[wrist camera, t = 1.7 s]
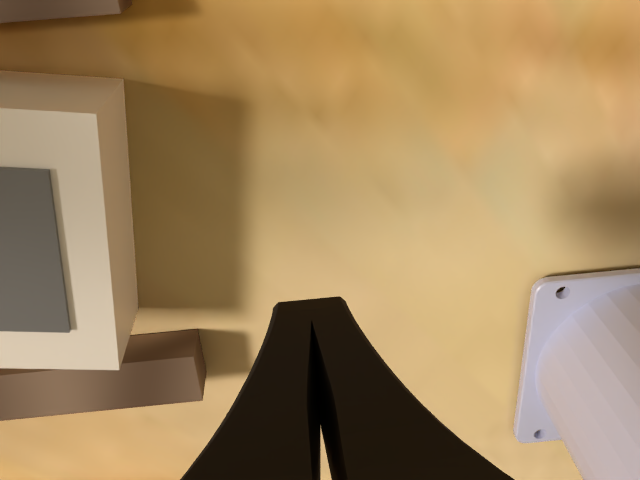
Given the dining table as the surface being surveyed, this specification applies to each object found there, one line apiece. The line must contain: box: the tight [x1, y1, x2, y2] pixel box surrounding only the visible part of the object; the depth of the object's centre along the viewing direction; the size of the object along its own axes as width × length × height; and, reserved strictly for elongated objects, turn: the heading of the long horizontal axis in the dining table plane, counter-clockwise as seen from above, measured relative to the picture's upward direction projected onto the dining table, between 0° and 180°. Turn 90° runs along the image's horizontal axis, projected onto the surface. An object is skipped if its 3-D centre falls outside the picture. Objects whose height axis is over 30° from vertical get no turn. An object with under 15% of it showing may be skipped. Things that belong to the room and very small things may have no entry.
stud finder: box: [0, 70, 139, 370], centre depth 18 cm, size 6×8×4 cm
